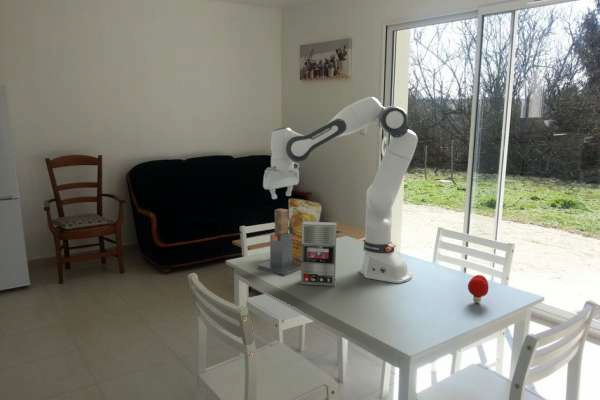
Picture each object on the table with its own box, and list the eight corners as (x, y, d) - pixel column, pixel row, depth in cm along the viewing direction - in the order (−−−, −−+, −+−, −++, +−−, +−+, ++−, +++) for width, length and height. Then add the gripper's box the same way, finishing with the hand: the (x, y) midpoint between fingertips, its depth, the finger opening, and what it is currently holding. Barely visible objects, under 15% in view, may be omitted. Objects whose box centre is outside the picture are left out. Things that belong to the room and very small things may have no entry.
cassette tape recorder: (300, 285, 187) (301, 224, 182) (302, 279, 193) (303, 221, 188) (334, 286, 185) (336, 226, 180) (335, 281, 191) (337, 222, 186)
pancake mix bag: (292, 252, 231) (292, 197, 226) (322, 260, 219) (323, 202, 213) (283, 255, 226) (283, 198, 221) (312, 263, 214) (313, 204, 209)
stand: (304, 267, 208) (305, 234, 205) (285, 275, 197) (285, 240, 194) (277, 260, 217) (278, 228, 215) (257, 268, 207) (257, 234, 204)
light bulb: (484, 309, 165) (486, 282, 163) (464, 304, 169) (466, 278, 167) (489, 300, 173) (491, 275, 171) (469, 296, 176) (471, 271, 175)
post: (288, 253, 206) (288, 209, 203) (281, 255, 203) (282, 211, 199) (280, 251, 209) (280, 208, 205) (274, 253, 206) (274, 209, 202)
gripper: (270, 168, 189) (271, 201, 191) (301, 164, 205) (301, 194, 207) (259, 167, 193) (259, 199, 195) (290, 163, 209) (290, 193, 211)
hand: (281, 197), depth 201 cm, fingers open, 8 cm apart
